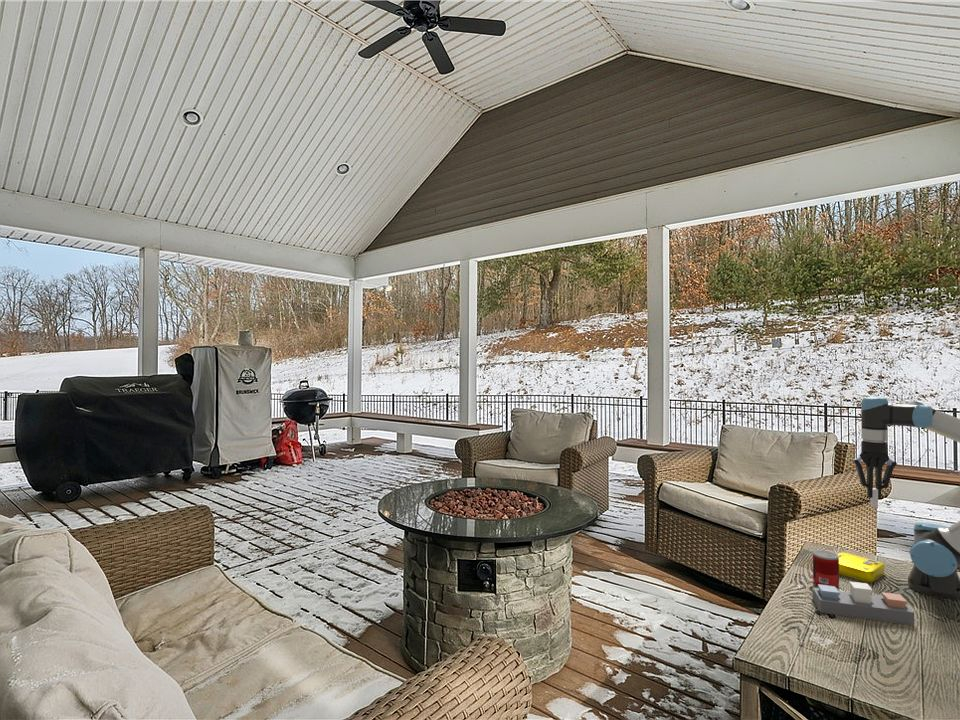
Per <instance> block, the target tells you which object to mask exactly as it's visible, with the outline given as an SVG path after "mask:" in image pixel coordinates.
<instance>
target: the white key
mask: <svg viewBox="0 0 960 720" xmlns="http://www.w3.org/2000/svg"><path fill="white" fill-rule="evenodd" d="M848 583H849V586H850V587H849V588H850V591H849V592H850V597H851V598H852V600H853V601H854V602H859V603H866V604H871V595H872V593H873V592H874V591H873V588H872V587H871V586H870V585H869V584H868V583H867V582H858V581H851V580H850V581H849V582H848Z"/></svg>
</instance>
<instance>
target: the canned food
mask: <svg viewBox="0 0 960 720" xmlns="http://www.w3.org/2000/svg"><path fill="white" fill-rule="evenodd" d="M837 554H838V553H835V552H831V551H828V550H827V551H826V550H814V551H813V552H812V580H813V584H815V585H817V586H818V584H820V585H828V586H835V587H836V588H837V589H838V587H839V586H840V574H839V556H838V555H837Z"/></svg>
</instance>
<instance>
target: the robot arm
mask: <svg viewBox="0 0 960 720" xmlns="http://www.w3.org/2000/svg"><path fill="white" fill-rule="evenodd" d="M860 409H861V410H860V413H861V414H860V418H861V419H860V421H861V426H860V427H861V436H860V438H861V443H860V444H861V445H860V446H861V447H860V448H861V449H860V451H861V452H860V454H859V456H858V457H856V458H853V459H852V462H853V463H854V466H855V468H856V471H857V476H858V478H859V482H860V485H861V486H863V487H864V488H866V494H867V495H866V496H867V498H870V502H869V505H870V507H871V508H873V509H879V499H881V498H882V490H883V489H887V488H889V485H890V482H891V478H892V475H893V471H894V469H895V467H896V466H897V465H898V462H897V461H894V460H892V459H891V458H890V456H889V453H888V451H889V450H888V446H889V445H888V442H887V441H888V440H889V439H888V438H889V434H888V428H889V426H899V427H900V426H901V427H912V428H921V429H925V430H927V431H930V432H933V433H935V434H938V435H940V436H943V437H945V438H946V439H949V440H952V441H954V442H957V443H959V444H960V418H958V417H955V416H953V415H951V414H948V413H945V412H944V411H940V410H938V409H935V408H933V407H932V406H930V405H926V404H923V403H922V402H919V401H914V400H913V401H912V400H911V401H907V402H905V403H904V404H901V403H889V401H888V398H886V397H878V396H866V397H864V398H863V397H862V400H861V408H860ZM862 462H863V463H864V464H865V466H866V467H865V469H866V475H865V473H864V470H863V466H862ZM885 464H886V467H885V470H884V473H883V467H884V466H885ZM874 470H875V473H874ZM874 478H875V481H874ZM874 482H875V483H874ZM874 484H875V487H874ZM909 555H910V560H911V562H912V563H913V566H912V568H911V570H910V572H909V574H908V577H907V586H908V587H909V588H910V589H912V590H914V591H916V592H918V593H921V594H924V595H927V596H931V597H933V598H940V599H943V600H944V599H945V600H960V576H959V574H958V567H959V566H960V520H959V521H957V522H955V523H954V524H951V525H950V526H946V525H942V524H941V525H940V524H936V523H929V522H915V524H914V526H913V541H912V544H911V546H910V548H909Z"/></svg>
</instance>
